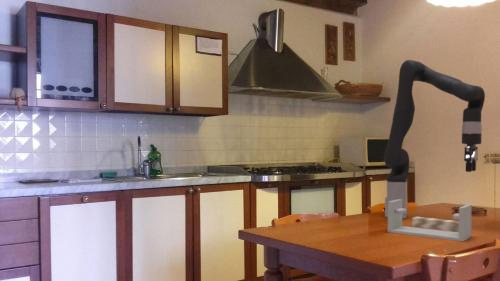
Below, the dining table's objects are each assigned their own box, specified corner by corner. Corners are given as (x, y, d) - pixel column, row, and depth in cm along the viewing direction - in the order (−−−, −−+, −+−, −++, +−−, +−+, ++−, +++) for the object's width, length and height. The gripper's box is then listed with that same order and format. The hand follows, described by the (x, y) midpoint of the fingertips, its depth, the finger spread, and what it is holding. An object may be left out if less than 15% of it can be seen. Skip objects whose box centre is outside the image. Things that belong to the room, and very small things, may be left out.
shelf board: (412, 227, 200) (412, 217, 200) (416, 225, 204) (416, 216, 204) (466, 234, 186) (466, 223, 186) (470, 232, 189) (470, 222, 189)
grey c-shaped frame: (387, 232, 186) (387, 201, 186) (398, 228, 195) (398, 199, 196) (463, 241, 169) (463, 208, 169) (471, 236, 178) (471, 204, 179)
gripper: (465, 133, 206) (464, 170, 206) (458, 132, 194) (457, 171, 194) (484, 133, 201) (483, 171, 201) (478, 132, 190) (477, 172, 190)
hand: (470, 171), depth 198 cm, fingers open, 8 cm apart
